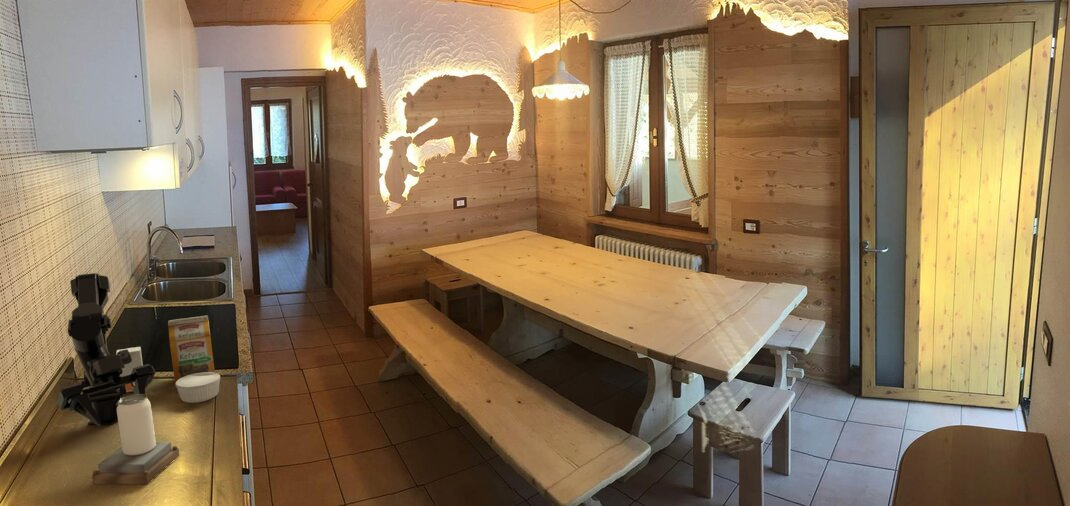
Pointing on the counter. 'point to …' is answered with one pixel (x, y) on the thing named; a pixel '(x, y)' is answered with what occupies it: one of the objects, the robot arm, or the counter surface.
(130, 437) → the can
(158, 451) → the whetstone on wooden base
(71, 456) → the counter surface
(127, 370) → the skincare box
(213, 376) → the ramekin
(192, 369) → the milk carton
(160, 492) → the counter surface
